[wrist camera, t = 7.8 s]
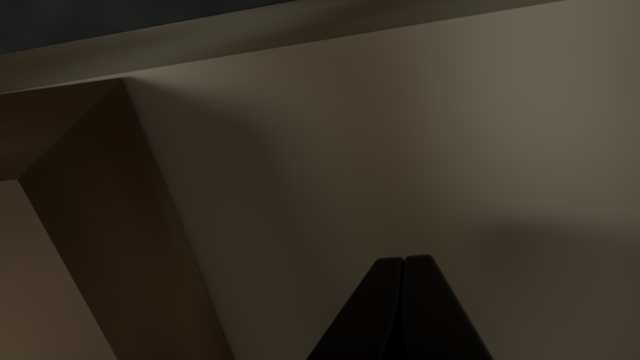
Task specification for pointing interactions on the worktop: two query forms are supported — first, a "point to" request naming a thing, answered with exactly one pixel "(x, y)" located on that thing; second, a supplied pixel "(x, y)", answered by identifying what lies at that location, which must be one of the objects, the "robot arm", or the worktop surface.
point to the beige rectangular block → (394, 159)
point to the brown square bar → (93, 236)
